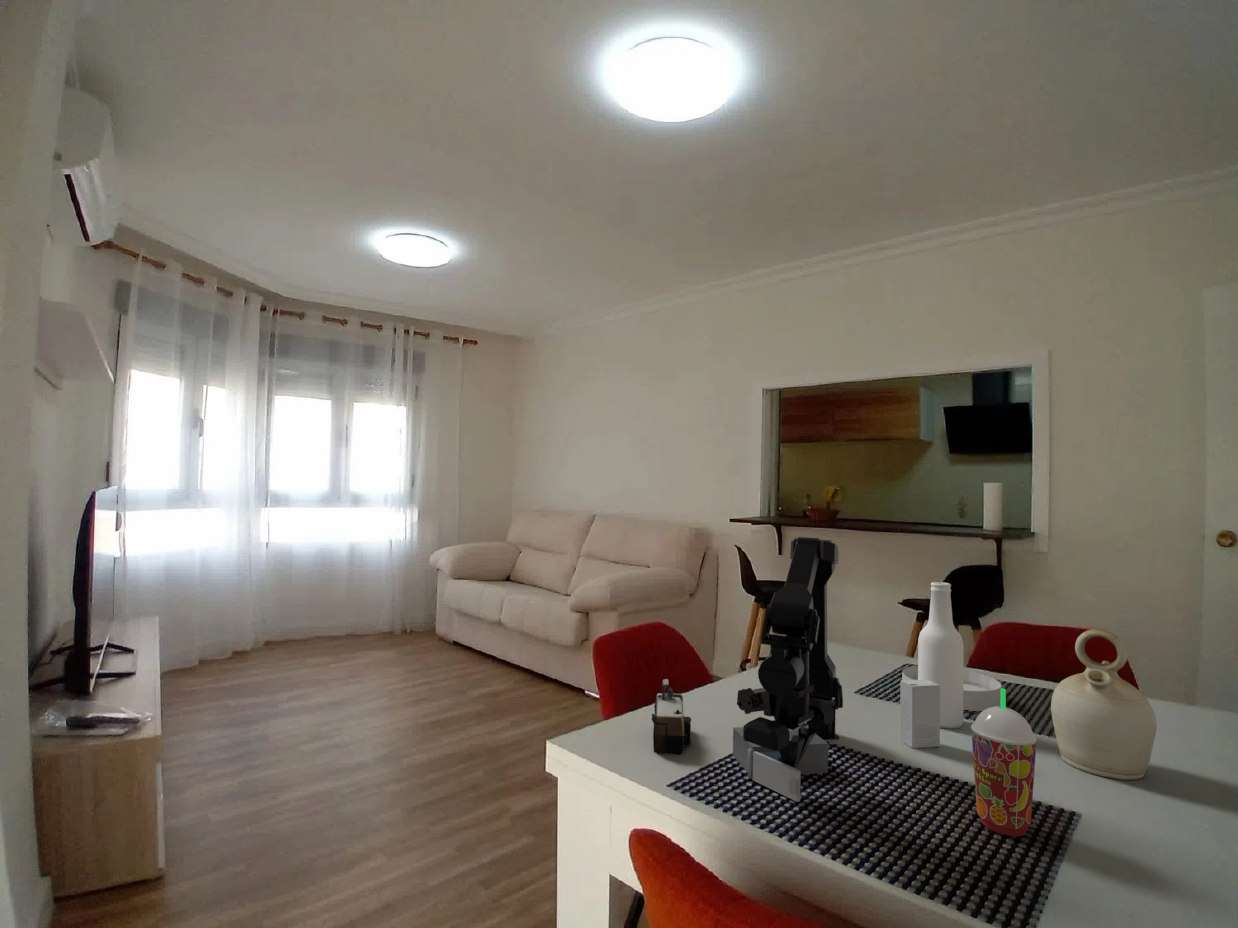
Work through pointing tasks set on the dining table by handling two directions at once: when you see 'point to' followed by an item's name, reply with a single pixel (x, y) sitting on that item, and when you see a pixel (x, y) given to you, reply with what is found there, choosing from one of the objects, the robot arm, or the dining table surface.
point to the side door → (774, 774)
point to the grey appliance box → (809, 764)
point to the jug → (1103, 717)
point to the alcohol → (943, 656)
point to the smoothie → (1004, 769)
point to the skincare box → (920, 713)
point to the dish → (970, 689)
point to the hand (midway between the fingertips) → (789, 774)
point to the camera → (670, 723)
